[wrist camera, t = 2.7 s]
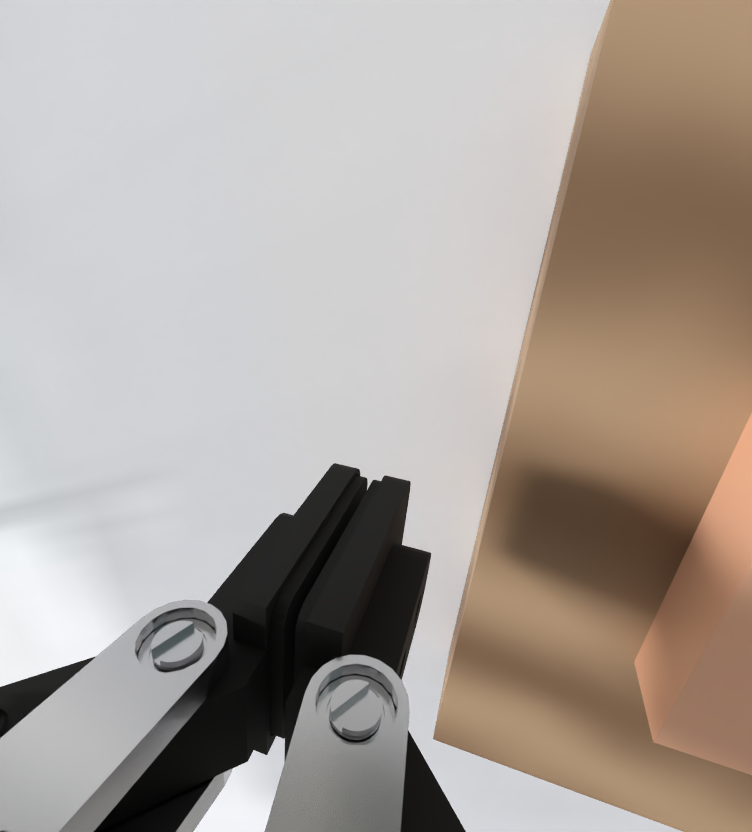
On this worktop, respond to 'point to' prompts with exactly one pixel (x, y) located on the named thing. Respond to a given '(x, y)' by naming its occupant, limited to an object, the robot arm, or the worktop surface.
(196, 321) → the worktop surface
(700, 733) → the terracotta tile
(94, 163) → the worktop surface
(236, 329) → the worktop surface
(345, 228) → the worktop surface
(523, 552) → the board
